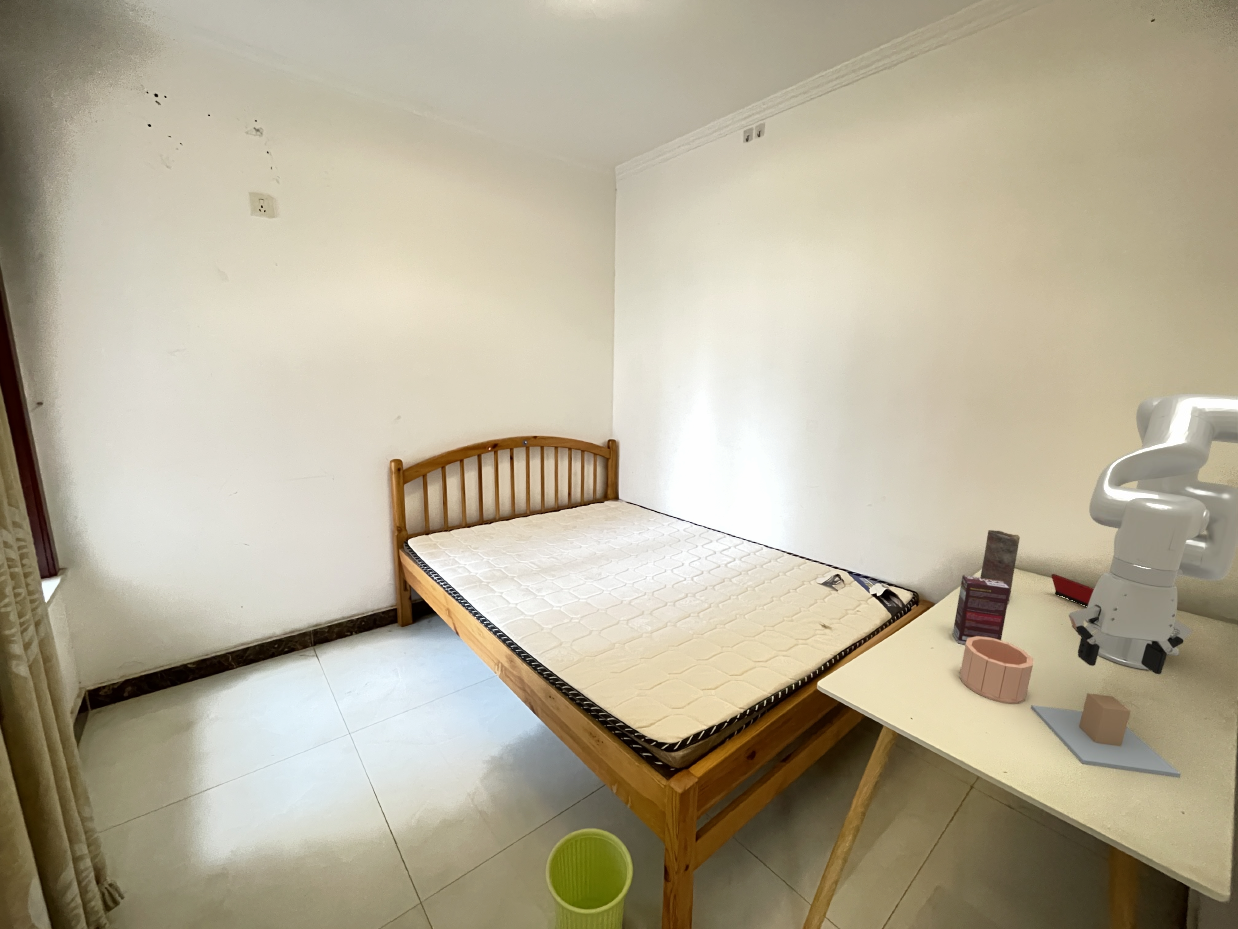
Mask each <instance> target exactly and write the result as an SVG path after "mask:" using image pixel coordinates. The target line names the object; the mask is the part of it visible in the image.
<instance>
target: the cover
mask: <svg viewBox="0 0 1238 929" xmlns="http://www.w3.org/2000/svg"><path fill="white" fill-rule="evenodd" d="M1083 704H1084V705H1083V708H1082V710H1073V709H1067V708H1059V707H1058V708H1057V707H1050V706H1042V705H1036V704H1032V705H1031V706H1030V709H1031V711H1033V712H1034V713H1035V715H1036V716H1037V717H1038V718H1039V719H1040V720H1041V721H1042V723H1044V724H1045V726H1046V727H1048V729H1049V730H1050V731H1051V732H1052V733H1053V734H1054V735H1055V736H1056V737H1057V739H1059V741H1061V743H1063V745H1064V746H1065V747H1066V749H1067V750H1068V751H1070V753H1072V755H1073V756H1074V757H1075V758H1076V759H1077V760H1078V761H1079V762H1080V764H1082V765H1089V766H1095V767H1101V768H1108V769H1116V770H1124V771H1130V772H1137V773H1143V774H1151V775H1157V776H1158V775H1159V776H1164V777H1171V778H1178V779H1179V778H1181V772H1179V771H1178V770H1177V769H1176V768H1175V767H1173V766H1172V765H1171V764H1170V763H1169V762H1168V761H1167V760H1166V759H1164V758H1163V757H1162V756H1161V755H1160V754H1159V753H1157V752H1156V750H1154V749H1153V748H1152V747H1150V745H1148V744H1147V743H1146V742H1145V741H1144V740H1142V739H1141V738H1140V737H1139V736H1138V735H1137V734H1136V733H1135V732H1133V731H1132V730H1131V729H1130V728H1129V727H1128V722H1129V719H1130V715H1131V712H1132V711H1131V710H1130V709H1129V708H1128V707H1126V706H1125V705H1124V704H1122V702H1120V701H1119V700H1118V699H1116V698H1115V697H1114V696H1113V695H1105V694H1098V693H1097V694H1095V693H1089V692H1088V693H1086V697H1085V700H1084V703H1083Z"/></svg>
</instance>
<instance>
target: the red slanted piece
mask: <svg viewBox="0 0 1238 929" xmlns="http://www.w3.org/2000/svg"><path fill="white" fill-rule="evenodd" d="M1051 579H1052V582H1053V583H1052V584H1053V587H1054V590H1055V591H1054V595H1055V594H1056V595H1055V596H1057V595H1059V596H1063V597H1065V598H1068V599H1069V600H1073V601H1075V602H1077V603H1076V604H1078V603H1080V604H1082V605H1085V606H1087V607H1088V604H1089V601H1090V598H1091V595H1092V593H1093V590H1094V588H1093V587H1090V586H1088V585H1085V584H1082V583H1080V582H1077V581H1074V580H1071V579H1069V578H1067V577H1063V576H1060V575H1058V574H1055V573H1052V574H1051ZM1059 596H1058V597H1059ZM1069 600H1068V601H1069ZM1075 602H1074V603H1075ZM1080 604H1079V605H1080ZM1082 605H1081V606H1082Z"/></svg>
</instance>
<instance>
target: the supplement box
mask: <svg viewBox="0 0 1238 929" xmlns="http://www.w3.org/2000/svg"><path fill="white" fill-rule="evenodd" d="M961 576H962V578H961V583H960V588H959V595H958V600H957V606H956V612H955V616H954V618H955V619H954V623H953V630H952V636H953V638H955V640H956V642H957V643H958V644H960V645H964V646H965V645H966V641H967V639H968V638H971V637H976V636H980V637H989V638H994V639H998V640H1001V641H1002V638H1003V637H1002V636H1003V631H1004V628H1005V627H1004V626H1005V622H1006V621H1005V620H1006V614H1007V610H1008V604H1009V601H1008V599H1009V594H1010V587H1009V586H1008V585H1007V584H1006V583H1005V582H1004V581H1002V580H995V579H987V578H980V577H981V576H980V577H979V576H972V575H965V574H963V575H961ZM1010 595H1011V594H1010Z"/></svg>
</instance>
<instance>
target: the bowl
mask: <svg viewBox="0 0 1238 929" xmlns="http://www.w3.org/2000/svg"><path fill="white" fill-rule="evenodd" d="M964 646H965V647H964V650H963V656H962V661H961V667H960V672H959V678H960V680H961V682H962V684H963V685H964V686H966V687H967V688H968V689H969V690H971V691H972V692H975V694H977V695H979V696H982V697H983V698H985V699H989V700H991V701H995V702H998V703H1002V704H1010V705H1011V704H1020V703H1023V702H1024V701H1025V700H1026V698H1027V694H1028V689H1029V686H1030V680H1031V676H1032V672H1033V671H1032V670H1033V666H1034V658H1033V657H1032V656H1031V655H1030V654H1029V653H1028V652H1027V651H1025V650H1024V649H1022V648H1020V647H1019V646H1017V645H1014V644H1012V643H1009V642H1007V641H1003V640H1002V639H1001V640H998V639H994V638H989V637H980V636H976V637H971V638H968V639H967V641H966V645H965V644H964Z"/></svg>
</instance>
